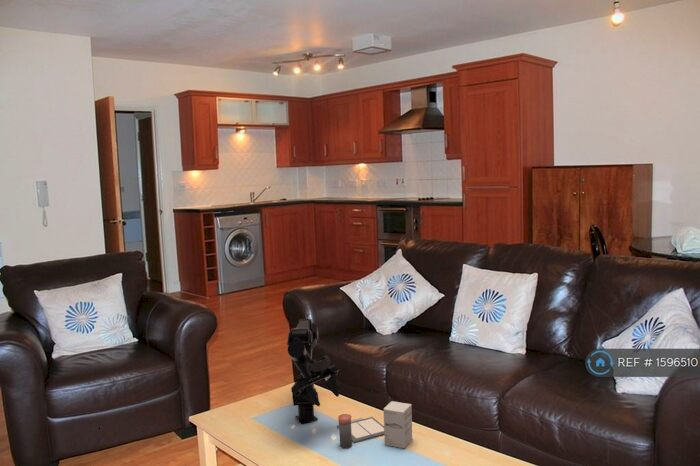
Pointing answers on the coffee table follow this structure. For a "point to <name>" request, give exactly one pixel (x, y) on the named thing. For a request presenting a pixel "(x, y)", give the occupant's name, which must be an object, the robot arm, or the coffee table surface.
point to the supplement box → (398, 424)
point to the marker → (345, 430)
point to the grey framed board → (365, 429)
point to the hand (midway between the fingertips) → (329, 400)
